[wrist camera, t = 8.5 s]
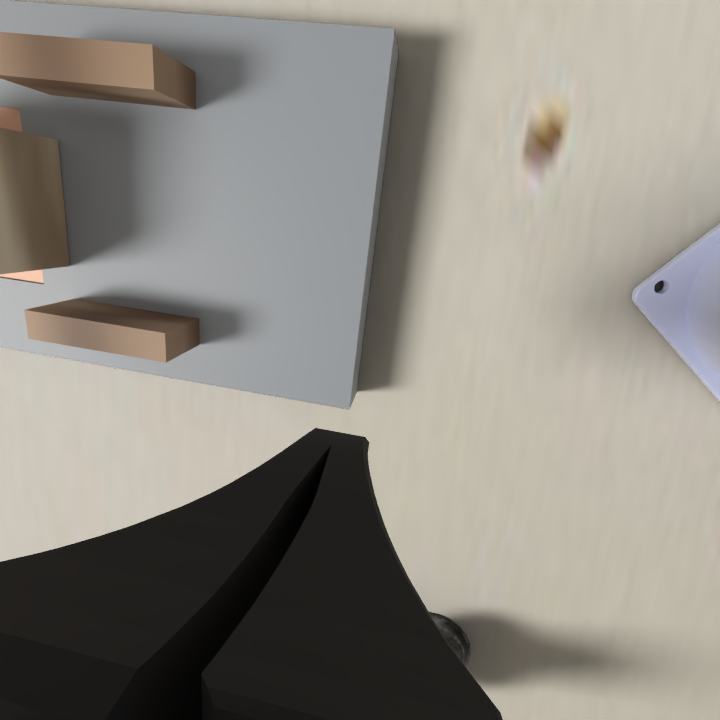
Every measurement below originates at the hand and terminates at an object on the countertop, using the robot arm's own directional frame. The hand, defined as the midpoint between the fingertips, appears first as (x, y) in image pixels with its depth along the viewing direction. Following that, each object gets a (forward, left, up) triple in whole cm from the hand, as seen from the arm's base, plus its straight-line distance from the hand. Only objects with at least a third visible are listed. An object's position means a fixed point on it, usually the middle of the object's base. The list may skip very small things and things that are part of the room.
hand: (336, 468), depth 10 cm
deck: (+5, -14, -10) cm, 18 cm away
